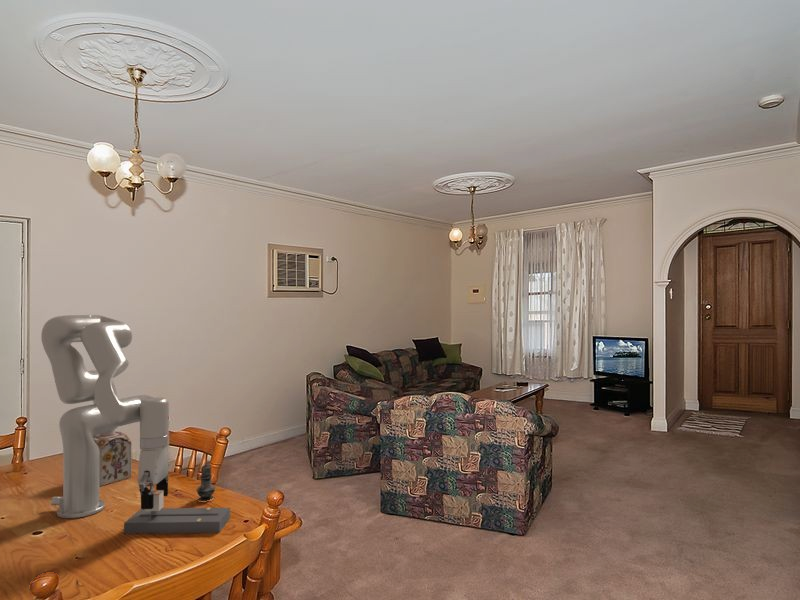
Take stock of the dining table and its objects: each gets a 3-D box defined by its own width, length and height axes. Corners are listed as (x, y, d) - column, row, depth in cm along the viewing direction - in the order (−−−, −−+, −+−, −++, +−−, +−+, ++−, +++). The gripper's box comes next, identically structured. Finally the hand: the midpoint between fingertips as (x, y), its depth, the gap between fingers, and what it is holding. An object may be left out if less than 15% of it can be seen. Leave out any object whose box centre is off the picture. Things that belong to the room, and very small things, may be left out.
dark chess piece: (209, 503, 166) (209, 465, 166) (192, 502, 167) (192, 464, 167) (219, 496, 172) (219, 460, 172) (202, 495, 173) (203, 459, 173)
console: (124, 533, 144) (124, 522, 144) (140, 519, 154) (140, 508, 154) (219, 532, 145) (219, 520, 145) (230, 517, 155) (230, 506, 155)
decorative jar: (82, 481, 187) (82, 430, 187) (114, 472, 197) (114, 424, 197) (100, 487, 181) (100, 435, 181) (132, 477, 191) (132, 428, 191)
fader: (144, 516, 148) (144, 494, 148) (149, 512, 151) (149, 490, 151) (159, 516, 148) (159, 493, 148) (163, 512, 151) (163, 490, 151)
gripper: (154, 434, 158) (154, 491, 158) (126, 450, 141) (126, 514, 140) (179, 434, 158) (180, 491, 158) (154, 449, 141) (155, 513, 141)
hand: (154, 502), depth 149 cm, fingers open, 9 cm apart
